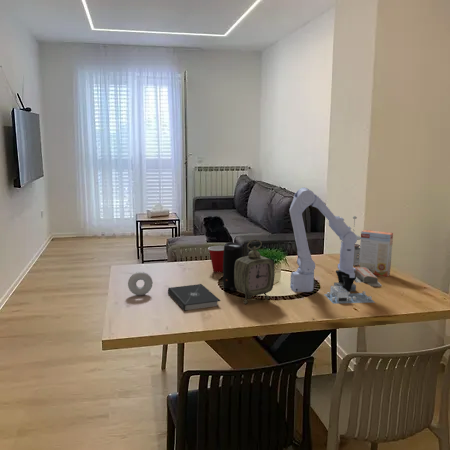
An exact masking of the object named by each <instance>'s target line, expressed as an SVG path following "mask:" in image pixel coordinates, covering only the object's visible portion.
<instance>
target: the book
mask: <svg viewBox="0 0 450 450" xmlns="http://www.w3.org/2000/svg"><path fill="white" fill-rule="evenodd" d="M167 294H168V295H169V296H170V297H171V298H172V299H173V300H174V302H175V303H176V304H177V305H178V306H179V307H180V309H182V311H184V312H186V311H190V310H196V309H197V310H198V309H204V308H205V309H206V308H211V307H218V302H221V299H220V298H218V296H216V295H215V294H214V293H212V292H211V291H210V290H209V288H207V287H205V286H204V285H203V284H202V283H199V284H191V285H183V286H173V287H172V286H171V287H168V290H167Z"/></svg>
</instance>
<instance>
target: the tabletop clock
mask: <svg viewBox="0 0 450 450" xmlns="http://www.w3.org/2000/svg"><path fill="white" fill-rule="evenodd" d="M253 242H259V243H260V244H259V246H258V247H257V246H255V245H254V246H253V247H252V248H251V247H249V245H250V244H251V243H253ZM262 245H263V243H262V241H261V240H260V239H257V238H256V239H255V238H254V239H251V240H250V241H248V243H247V245H246V246H247V249H248V250H250V251H249V252H248V254H247V255H246V256H243V257H241V258H239V259H237V260H236V262H235V268H234V282H235V287H236V290H238V292H240V293H241V294H244V295H245V296H244V300H243V304H244V305H246V304H248V300H247V299H252V296H260V295H264V299H265V300H269V299H270V296H269V295H267V293H269V292H271V291H272V290H273V287H274V285H275V284H274V283H275V263H274V259H271V258H268V257H265V256H262V255H261V252H260V251H258V250H259V249H260V248H262Z"/></svg>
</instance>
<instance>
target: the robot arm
mask: <svg viewBox="0 0 450 450" xmlns="http://www.w3.org/2000/svg"><path fill="white" fill-rule="evenodd" d="M309 206H311V207H312V208H313V207H314V208H316V209H318V211H319V212H320V213H321V214H322V215H323V216H324V217H325V218H326V219H327V221H328V226H329V228H330V229H331V230H332V231H333V232H334V234H336V236H337V237H339V240H340V250H339V263H337V270H335V274H336V276H337V279H338V282H344V289H346V290H347V291H348V292H350V293H351V291H350V290H351V287H352V284H353V283H354V282H355V281H354V280H355V279H356V276H355V273H354V270H356V269H355V268H354V265H353V263H354V246H355V244H357V242H358V240H357V237H356V235H357V234H356V233H355V232H354V231H352V230H351V229H352V227H350V226H348V225H347V223H346V222H345V219H344V218H343V217H342V216H341V217H340V216H339V215H335V214H334V213H333V212H332V211H331V209H330V208H329V207H328V205H326V204H325V202H324V201H323V200H322V198H320V197H319V196H318V195H317V194H315V193H314V191H312V190H310V189H309V188H307V187H301V188H299V189H298V190H297V191H296V192H295V193H294V195H293V199H292V201H291V203H290V206H289V207H290V208H289V211H288V212H289V215H290V221H291V226H292V230H293V234H294V239H295V244H296V249H297V253H296V254H297V259H296V264H297V265H298V267H297V269H296V270H295V271H292V272H291V273H290V283H289V284H290V285H289V288H290V289H291V290H292V292H294V293H300V292H302V293H309V292H311V293H312V292H313V291H314V281H315V269H316V263H315V261H314V260H313V258H312V254H311V251H310V248H309V243H308V238H307V233H306V232H307V231H306V229H305V223H304V219H303V213H304V211H305V210H306V209H307V208H308V207H309Z"/></svg>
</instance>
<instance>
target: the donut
mask: <svg viewBox="0 0 450 450" xmlns="http://www.w3.org/2000/svg"><path fill="white" fill-rule="evenodd" d="M140 280H141V281H143V286H141V287H140V286H138V285H137V283H138V281H140ZM127 286H128V289H129V291H130V292H131V293H132V294H133V295H135V296H145V295H146V294H148V293H149V292H150V291H151V289H152V288H153V278H152V277H151V275H150V274H149V273H147V272H145V271H136V272H135V273H134V272H133V273H132V274H131V275H130V276H129V278H128V281H127Z"/></svg>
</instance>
